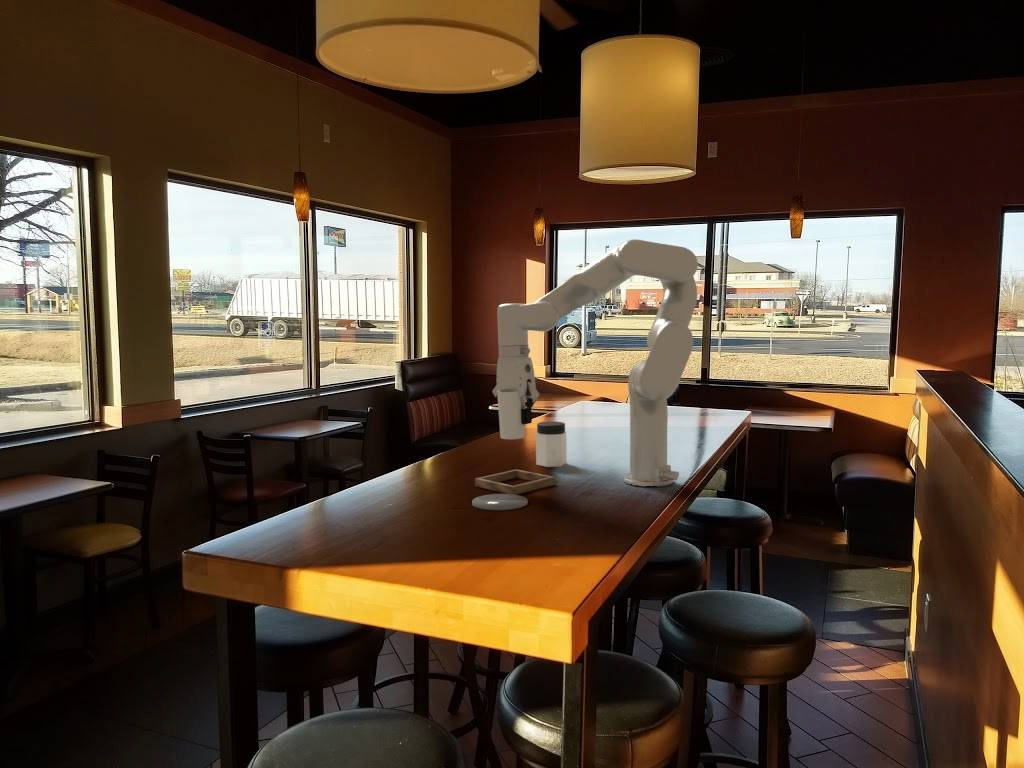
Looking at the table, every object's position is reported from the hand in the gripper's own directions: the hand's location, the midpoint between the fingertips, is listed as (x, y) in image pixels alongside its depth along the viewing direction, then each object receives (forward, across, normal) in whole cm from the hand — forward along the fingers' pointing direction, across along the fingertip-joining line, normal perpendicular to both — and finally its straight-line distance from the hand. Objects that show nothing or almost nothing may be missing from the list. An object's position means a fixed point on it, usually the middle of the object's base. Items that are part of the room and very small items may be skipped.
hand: (516, 421), depth 195 cm
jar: (+17, +12, -25) cm, 33 cm away
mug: (+4, 0, 0) cm, 4 cm away
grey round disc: (+16, -9, +16) cm, 25 cm away
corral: (+16, +1, +1) cm, 16 cm away
